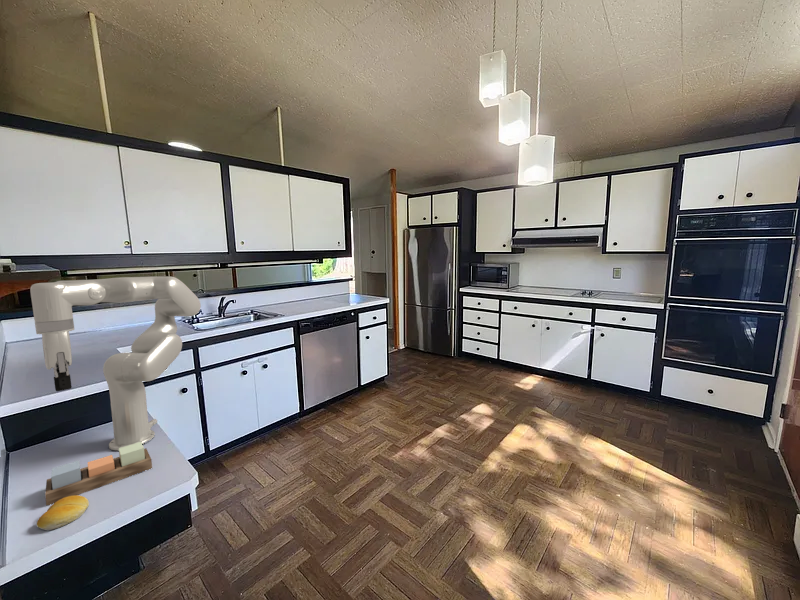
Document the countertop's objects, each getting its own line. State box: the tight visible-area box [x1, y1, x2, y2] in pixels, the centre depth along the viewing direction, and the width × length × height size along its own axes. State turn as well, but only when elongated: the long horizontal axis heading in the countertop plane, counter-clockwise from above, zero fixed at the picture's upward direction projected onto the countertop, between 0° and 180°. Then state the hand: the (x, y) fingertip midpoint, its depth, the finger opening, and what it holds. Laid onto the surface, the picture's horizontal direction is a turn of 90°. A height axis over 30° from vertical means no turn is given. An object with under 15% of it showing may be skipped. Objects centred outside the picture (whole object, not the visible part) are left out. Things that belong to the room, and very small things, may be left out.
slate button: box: [50, 459, 81, 490], centre depth 91 cm, size 5×5×4 cm
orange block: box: [87, 454, 115, 478], centre depth 96 cm, size 5×5×4 cm
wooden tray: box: [44, 447, 153, 506], centre depth 96 cm, size 22×9×3 cm, turn 135°
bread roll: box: [36, 494, 90, 531], centre depth 81 cm, size 8×9×4 cm
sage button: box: [118, 442, 145, 467], centre depth 101 cm, size 5×5×4 cm
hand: (63, 389), depth 96 cm, fingers closed
